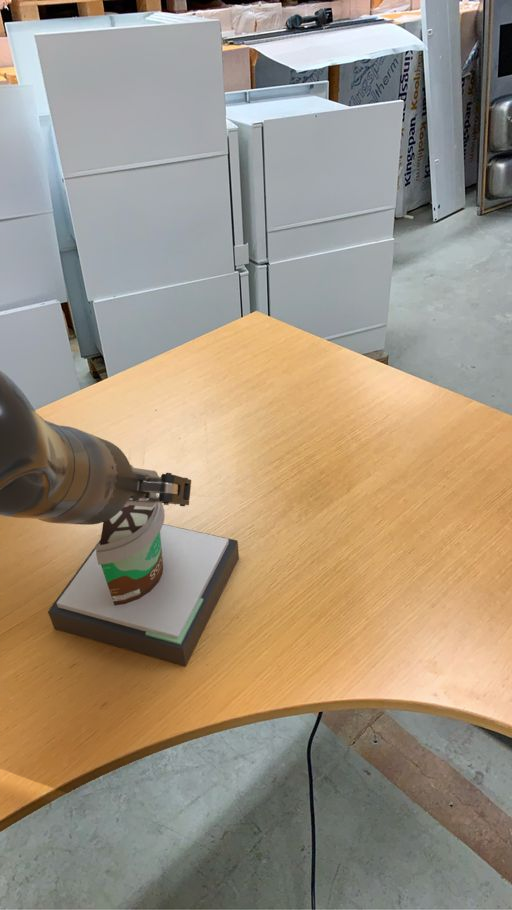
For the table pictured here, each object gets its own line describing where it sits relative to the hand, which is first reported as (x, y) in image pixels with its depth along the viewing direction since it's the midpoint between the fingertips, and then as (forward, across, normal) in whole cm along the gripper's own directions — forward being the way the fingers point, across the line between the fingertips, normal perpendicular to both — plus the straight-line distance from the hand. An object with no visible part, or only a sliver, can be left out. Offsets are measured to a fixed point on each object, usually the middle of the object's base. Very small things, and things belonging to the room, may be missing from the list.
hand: (135, 490), depth 68 cm
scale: (+9, 0, +11) cm, 14 cm away
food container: (+6, 0, +9) cm, 11 cm away
